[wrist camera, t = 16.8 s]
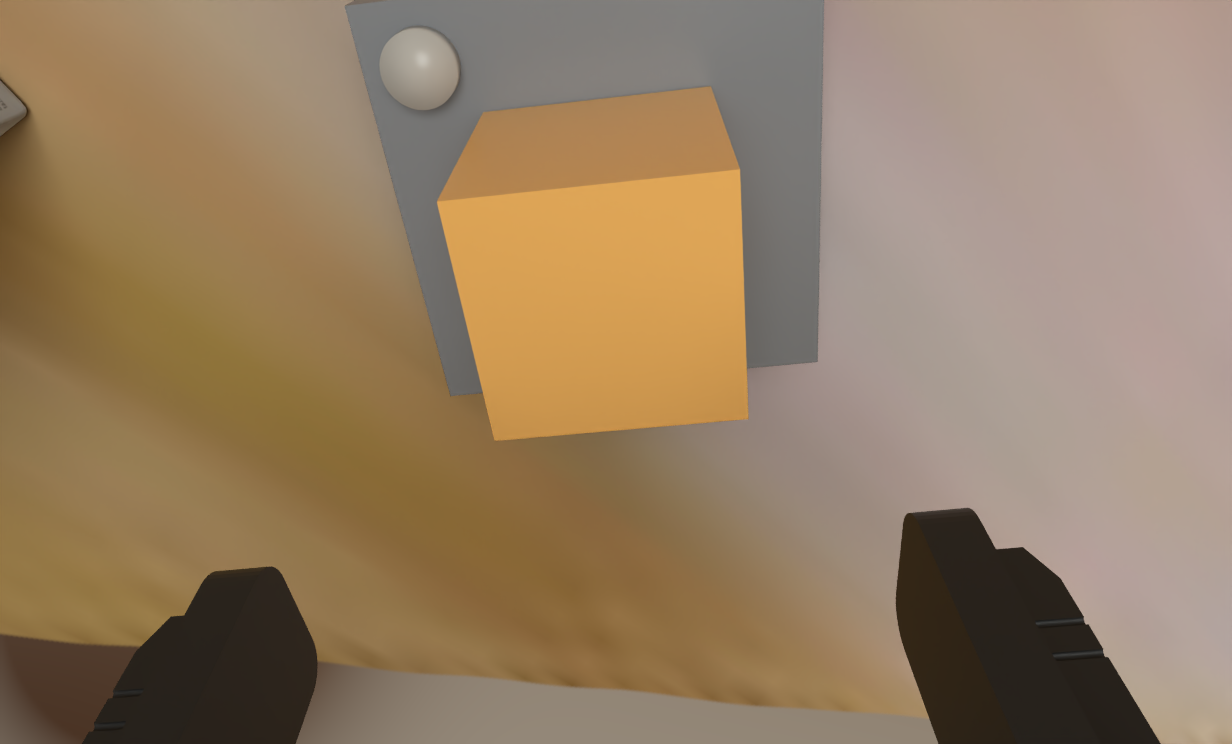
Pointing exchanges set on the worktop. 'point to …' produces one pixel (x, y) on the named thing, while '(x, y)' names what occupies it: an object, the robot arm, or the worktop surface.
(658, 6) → the grey square block
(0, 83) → the coffee box
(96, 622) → the worktop surface
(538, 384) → the orange matte cube
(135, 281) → the worktop surface
